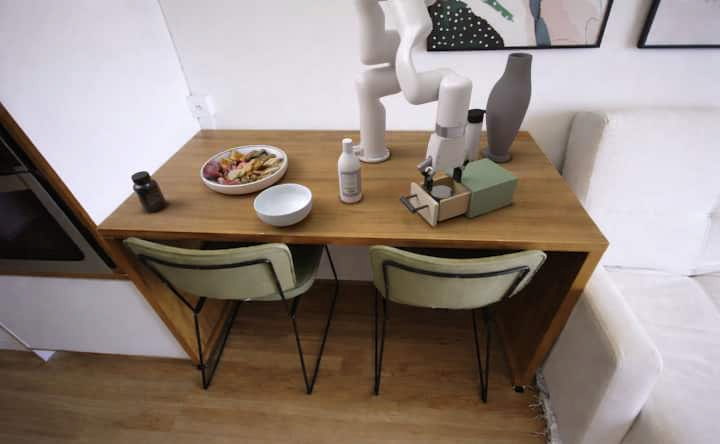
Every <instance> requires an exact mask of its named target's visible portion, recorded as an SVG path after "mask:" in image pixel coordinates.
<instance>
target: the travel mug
mask: <svg viewBox="0 0 720 444" xmlns="http://www.w3.org/2000/svg"><path fill="white" fill-rule="evenodd" d="M485 115H486V109H482V108H471V109H470V108H469V110H468V116H467V121H468V122H469V124H468V126H466V128H465V132H466V150H467V151H470V152H471V153H473V156H472V157H471V159H470V160H469V163H470V162H474V161H477V156H478V152H479V146H480V141H481V135H482V131H483V124H484V118H485Z"/></svg>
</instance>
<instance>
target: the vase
mask: <svg viewBox="0 0 720 444" xmlns="http://www.w3.org/2000/svg"><path fill="white" fill-rule="evenodd" d="M533 58H534V55H533V54H531V53H528V52H511V53H509V54H508V56H507V60H506V64H505V68H504V71H503V73H502V75H501V77H500V78H499V79H498V80H497V81H496V82H495V84H494V85H493V86H492V88H491V90H490V92H489V95H488V97H487V102H486V106H485V110H486V114H485V128H486V137H487V139H486V140H487V145H486V146H484V147H483V148H482V153H481V154H482V156H483V157H484V159H485V158H488V159H489V160H491V161H493V162H495V163H496V162H497V163H504V162H507V161H509V160H510V158H511V152H510V149H511V147H512V146H513V143H514V142H515V140H516V138H517V136H518V134H519V131H520V129H521V127H522V124H523V122H524V119H525V116H526V114H527V112H528V109H529V106H530V103H531V98H532V64H533Z"/></svg>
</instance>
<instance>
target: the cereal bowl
mask: <svg viewBox="0 0 720 444" xmlns="http://www.w3.org/2000/svg"><path fill="white" fill-rule="evenodd" d="M313 201H314V199H313V194H312V192H311V189H309V188H308V187H307V186H304V185H302V184H299V183H282V184H277V185H274V186H270V187H267V189H266V188H265V190H264V189H263V191H261V192H260V193H259V194H258V195H257V196H256V197H255V199H254V202H253V208H254V211H255V213H256V215H257V217H258V218H259V219H260V220H261V221H262V222H264V223H265V224H267V225H270V226H275V227H287V226H291V225H294V224H297V223H299V222H301V221H303V220H304V219H305V218H306V217H307V216H308V215H309V214H310V212H311V210H312V208H313V203H314V202H313Z"/></svg>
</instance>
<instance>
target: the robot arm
mask: <svg viewBox="0 0 720 444" xmlns="http://www.w3.org/2000/svg"><path fill="white" fill-rule="evenodd" d="M352 2H353V6H354V10H355V13H356V20H357V21H356V23H357V27H356V28H357V47H358V48H357V50H358V58H359V62H360V63H361V64H362V65H364V66H377V65H382V64H387V65H384V66H378V67H373V68H369V69H365V70H362V71H360V72H359V73H358V74H357V75H356V77H355V79H354V87H355V91H356V95H357V96H356V97H357V103H358V113H359V115H358V116H359V133H360V141H359V144H357V145H353V152H354V153H355V154H356V155H357V157H358V159H359V161H362V162H366V163H370V164H371V163H381V162H384V161H386V160H387V159H389V157H390V155H391V152H390V150H389V149H388V148H387V147H386V145H387V139H386V138H387V111H386V107H385V105H384V104H383V103H382V102H381V100H380V99H382V98H385V97H389V96H393V95H398V94H400V93H402V94H403V96H404V99H405V100H406V101H407V102H408V103H409V104H410V105H413V106H420V105H425V104H429V103H433V102H437V109H436V116H435V117H436V118H435V124H434V125H435V126H434V132H432V133H431V135H430V138H429V141H428V145H427V149H426V155H425V159H424V160H423V161H421V162H419V164H418V165H417V166H416V168H417V170H418V172H419V173H420V175H422V177H424V178H423V179H424V180H423V182H424V187H425V188H426V189H427V190H428V191H429V192H431V191H432V188H433V179H434V176H435V175H436V174H437V173H441V172H445V170H449V169H452V168H454V170H453V177H452V179H453V180H454V181H456V182H457V183H461V178H462V172H463V171H464V170H465V167H466V166H467V164H468V163H469V160H470V159H471V157H472V156H473V153H471V152H470V151H467V150H466V132H465V128H466V126H468V124H469V122H468V121H467V116H468V110H470V104H471V97H472V94H473V93H472V92H473V82H472V80H471V79H470V78H468V77H466V76H462V75H459V74H458V73H457V72H456V71H455V70H453V69H452V68H449V67H441V68H436V69H429V70H424V71H420V72H417V70H416V68H415V65H414V63H413V62H414V61H413V58H412V57H413V56H412V51H413V49H414V48H415V47H416V46H418V45H419V44H421V43H422V42H423V41H424V40H426V39H427V38H428V37H429V36H430V34H431V32H432V31H433V21H432V18H431V16H430V13H429V11H428V9H427V8H428V7H430V6H433V5H434V4H435V3H436V2H437V0H352ZM380 2H386V3H387V5H388V8H389V10H390V13H391V16H392V19H393V22H394V25H395V29H394V28H391V29H386V15H385V12H384V9H383V8H382V6H381V4H380Z"/></svg>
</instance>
